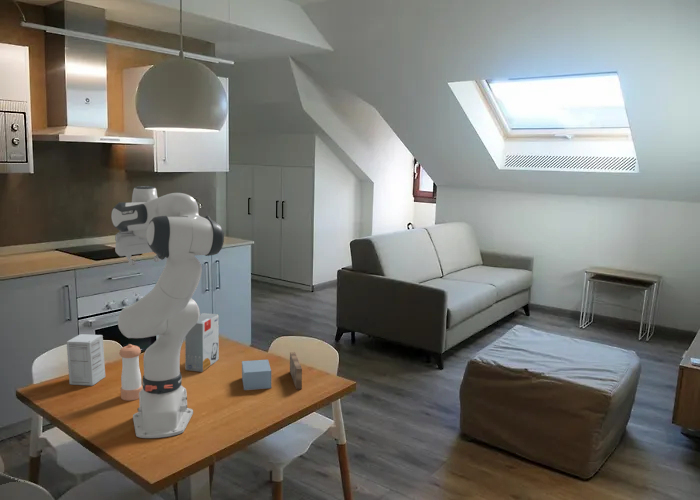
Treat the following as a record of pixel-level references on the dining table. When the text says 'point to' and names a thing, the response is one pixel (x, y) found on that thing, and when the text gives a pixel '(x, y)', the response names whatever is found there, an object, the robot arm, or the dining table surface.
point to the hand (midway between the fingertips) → (144, 263)
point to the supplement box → (85, 359)
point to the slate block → (256, 374)
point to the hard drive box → (202, 343)
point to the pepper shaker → (130, 372)
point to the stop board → (296, 370)
